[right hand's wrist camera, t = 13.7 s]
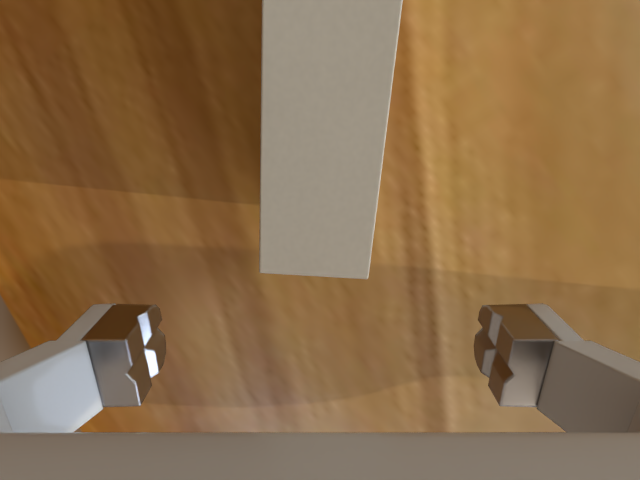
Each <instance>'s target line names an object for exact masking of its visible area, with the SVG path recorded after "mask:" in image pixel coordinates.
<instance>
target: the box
mask: <svg viewBox="0 0 640 480" xmlns="http://www.w3.org/2000/svg"><path fill="white" fill-rule="evenodd" d="M402 2H403V0H262V56H261V152H260V248H259V272H260V273H271V274H289V275H306V276H323V277H340V278H358V279H368V276H369V268H370V260H371V252H372V244H373V236H374V227H375V219H376V211H377V203H378V195H379V187H380V179H381V171H382V163H383V155H384V147H385V139H386V131H387V123H388V115H389V107H390V98H391V90H392V82H393V74H394V66H395V58H396V50H397V42H398V34H399V26H400V18H401V10H402Z"/></svg>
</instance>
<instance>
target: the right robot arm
mask: <svg viewBox="0 0 640 480" xmlns="http://www.w3.org/2000/svg"><path fill="white" fill-rule="evenodd" d="M161 321H162V317H161V312H160V308H159V307H158V306H157V305H146V304H95V305H92V306H91V307H90V308H89V309H88V310H87V311H86V312H85V313H84V314H83V315H82V316H81V317H80V318H79V319H78V320H77V321H76V322H75V323H74V324H73V325H72V326H71V327H69V328H68V329H67V330H66V331H65V332H64V333H63V334H62V335H61V336H60V337H59V338H58V339H57V340H56V341H48V342H45V343H43V344H41V345H38V346H36V347H34V348H31V349H29V350H27V351H25V352H22V353H20V354H18V355H16V356H13V357H11V358H9V359H6V360H4V361H2V362H0V480H640V362H638V361H636V360H634V359H631V358H629V357H627V356H625V355H622V354H620V353H618V352H615V351H613V350H611V349H608V348H606V347H604V346H602V345H599V344H597V343H595V342H592V341H584V340H583V339H582V338H581V337H580V336H579V335H578V334H577V333H576V332H575V331H574V330H573V329H572V328H571V327H570V326H569V325H568V324H566V323H565V322H564V321H563V320H562V319H561V318H560V317H559V316H558V315H557V314H556V313H555V312H554V311H553V310H552V309H551V308H550V307H549V306H548V305H545V304H543V303H542V304H511V305H482V307H481V309H480V311H479V317H478V321H479V322H480V324H481V326H482V327H483V328H482V329H481V330H480V331H479V332H478V333H477V334H476V335H475V341H474V355H475V360H476V363H477V366H478V368H479V370H480V372H481V373H483V374H484V375H486V376H487V377H489V383H488V386H489V388H490V390H491V391H492V393H493V395H494V397H495V399H496V400H497V402H498V404H499V406H515V407H537V409H538V410H539V411H540V412H542V413H543V414H544V415H545V416H547V417H548V418H549V419H551V420H552V421H553V422H554V423H556V424H557V425H558V426H560V427H561V428H562V429H563V430H565V431H566V432H490V433H143V432H79V433H78V432H77V433H76V432H75V433H74V431H75V430H77V429H78V428H79V427H81V426H82V425H83V424H84V423H86V422H87V421H88V420H90V419H91V418H92V417H93V416H95V415H96V414H97V413H99V412H100V411H101V410H102V409H103V407H124V406H141V404H142V402H143V400H144V399H145V397H146V395H147V393H148V391H149V390H150V388H151V386H152V383H151V377H153V376H154V375H156V374H157V373H159V372H160V370H161V368H162V366H163V363H164V359H165V355H166V340H165V335H164V334H163V333H162V332H161V331H160V330H159V329H158V328H157V327H158V326H159V324H160V322H161Z"/></svg>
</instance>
